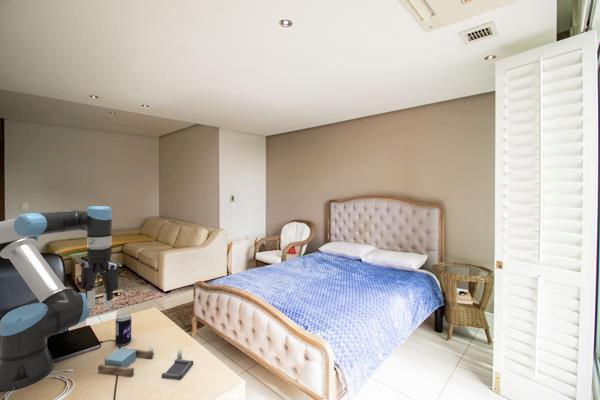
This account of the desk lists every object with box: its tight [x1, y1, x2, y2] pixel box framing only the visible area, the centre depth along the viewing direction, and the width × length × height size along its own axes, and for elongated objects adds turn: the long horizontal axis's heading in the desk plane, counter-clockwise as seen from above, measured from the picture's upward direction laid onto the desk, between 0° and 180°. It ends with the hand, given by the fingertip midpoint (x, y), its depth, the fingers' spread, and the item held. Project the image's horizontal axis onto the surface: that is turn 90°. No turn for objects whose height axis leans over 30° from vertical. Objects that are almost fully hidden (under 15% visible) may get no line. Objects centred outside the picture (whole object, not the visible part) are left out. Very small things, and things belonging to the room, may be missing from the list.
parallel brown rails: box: [97, 347, 154, 378], centre depth 104 cm, size 13×12×2 cm
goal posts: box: [148, 346, 183, 360], centre depth 110 cm, size 14×2×3 cm, turn 83°
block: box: [104, 347, 137, 368], centre depth 104 cm, size 7×7×4 cm
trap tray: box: [161, 358, 194, 381], centre depth 102 cm, size 7×9×1 cm
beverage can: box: [114, 312, 132, 347], centre depth 118 cm, size 6×6×12 cm
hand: (99, 307), depth 105 cm, fingers open, 6 cm apart
